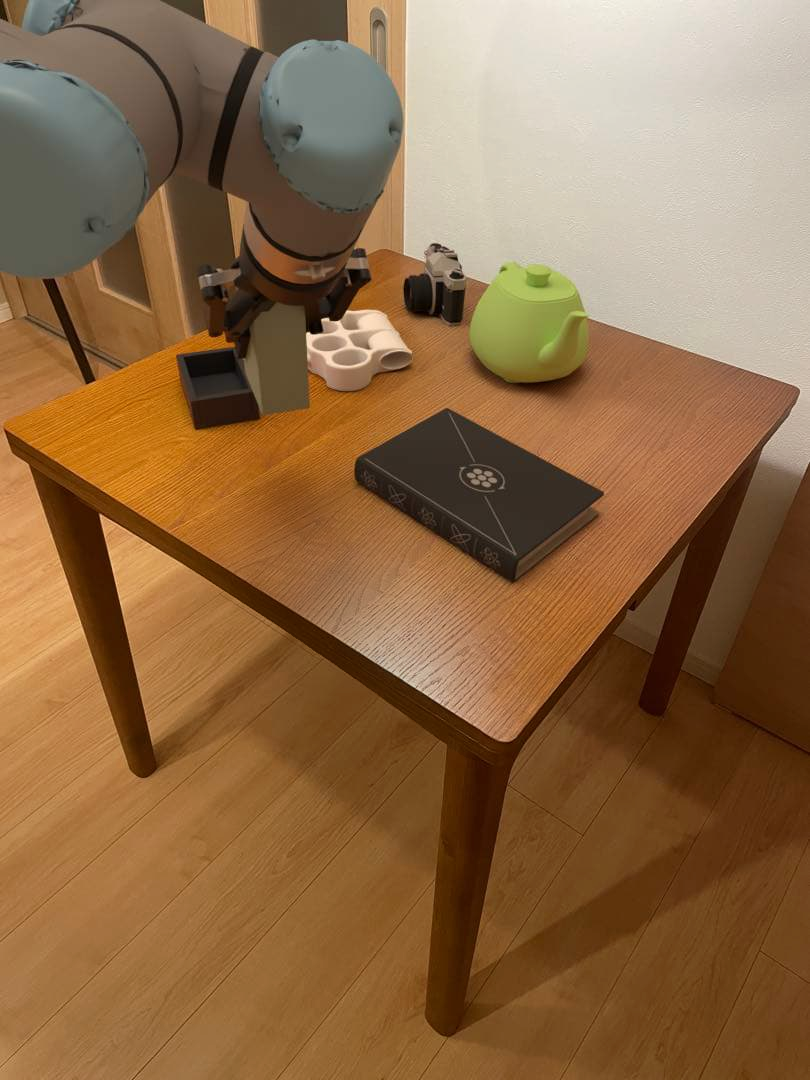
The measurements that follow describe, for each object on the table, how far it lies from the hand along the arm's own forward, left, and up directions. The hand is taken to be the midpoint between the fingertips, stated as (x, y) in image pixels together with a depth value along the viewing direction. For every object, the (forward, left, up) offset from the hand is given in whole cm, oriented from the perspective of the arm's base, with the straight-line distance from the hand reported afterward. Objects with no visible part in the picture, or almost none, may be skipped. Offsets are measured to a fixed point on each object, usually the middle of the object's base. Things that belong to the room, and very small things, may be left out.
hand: (265, 341), depth 77 cm
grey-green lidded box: (0, -4, -3) cm, 5 cm away
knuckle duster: (+15, +21, -15) cm, 30 cm away
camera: (+31, +31, -15) cm, 46 cm away
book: (+19, -12, -15) cm, 27 cm away
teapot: (+37, +11, -15) cm, 41 cm away
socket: (-3, +15, -15) cm, 22 cm away
